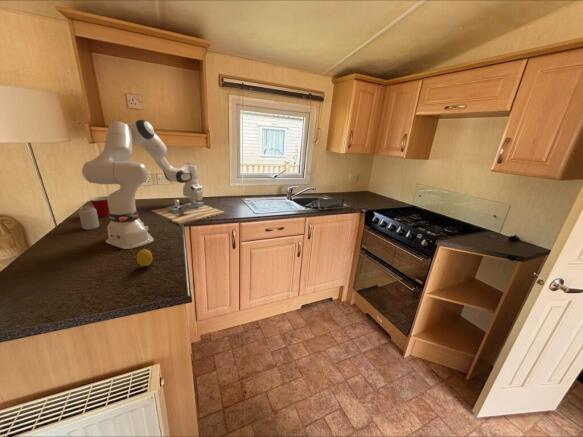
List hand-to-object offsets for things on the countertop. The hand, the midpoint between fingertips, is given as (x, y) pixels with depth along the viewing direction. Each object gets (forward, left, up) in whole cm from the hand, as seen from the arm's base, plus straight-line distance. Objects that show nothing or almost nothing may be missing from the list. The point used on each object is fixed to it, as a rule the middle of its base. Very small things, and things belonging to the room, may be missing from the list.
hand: (193, 203), depth 182 cm
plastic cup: (+19, +51, -3) cm, 54 cm away
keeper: (-15, +16, -1) cm, 22 cm away
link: (-6, +8, -1) cm, 10 cm away
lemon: (-62, +64, -3) cm, 89 cm away
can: (+1, +63, -3) cm, 63 cm away
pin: (-6, +16, -1) cm, 17 cm away
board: (-11, +11, -2) cm, 15 cm away
